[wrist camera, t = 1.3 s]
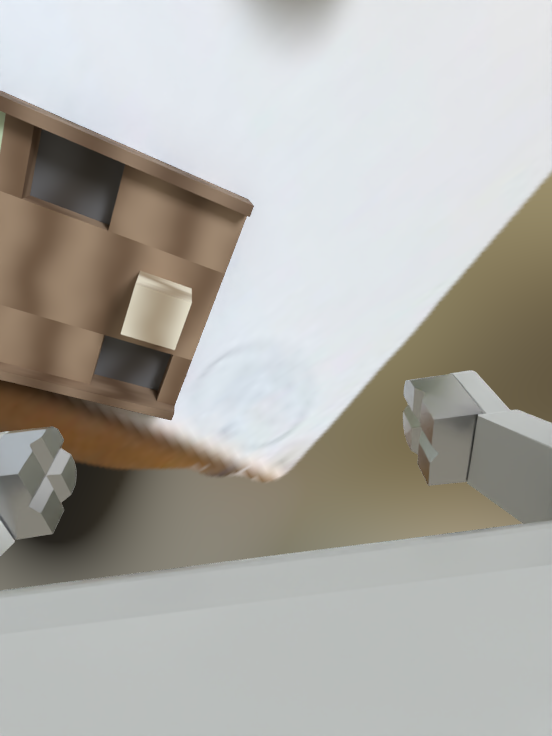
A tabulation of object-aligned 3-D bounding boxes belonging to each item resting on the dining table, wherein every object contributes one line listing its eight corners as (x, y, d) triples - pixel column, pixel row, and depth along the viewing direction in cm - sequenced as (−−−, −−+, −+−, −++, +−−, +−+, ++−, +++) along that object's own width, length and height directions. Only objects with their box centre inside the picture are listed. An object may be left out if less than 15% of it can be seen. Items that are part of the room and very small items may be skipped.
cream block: (126, 317, 42) (120, 334, 39) (140, 270, 40) (135, 283, 37) (175, 332, 44) (174, 350, 40) (191, 288, 42) (191, 302, 39)
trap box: (-115, 327, 41) (-143, 345, 38) (-99, 46, 32) (-134, 36, 29) (172, 400, 51) (171, 420, 47) (248, 199, 41) (253, 205, 38)
